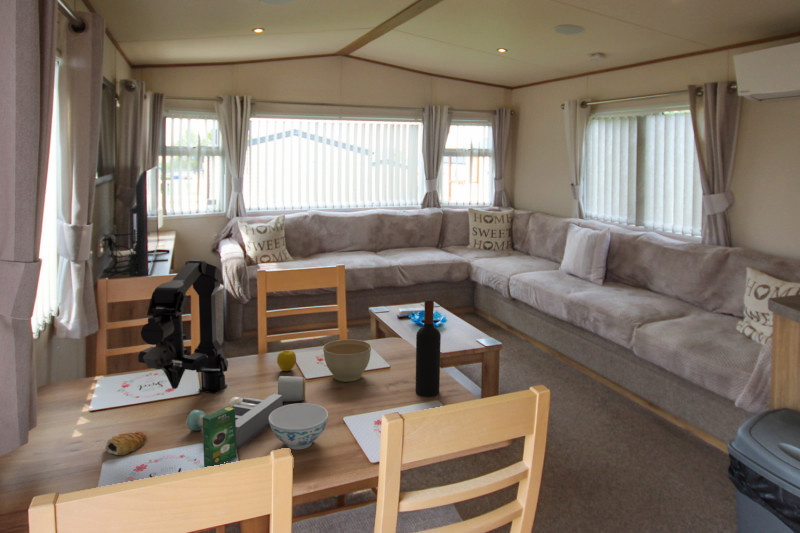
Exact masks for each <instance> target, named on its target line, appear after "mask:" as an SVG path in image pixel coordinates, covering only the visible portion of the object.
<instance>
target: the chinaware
mask: <svg viewBox="0 0 800 533" xmlns="http://www.w3.org/2000/svg"><path fill="white" fill-rule="evenodd" d="M328 417H329V412H328V410H327V409H326V408H325V407H323V406H321V405H319V404H314V403H307V402H301V403H298V402H297V403H291V404H286V405H282V407H280V408H277V409H276V410H274V411H273V412H272V413H271V414H270V415H269V423H270V426H269V427H270V429H271V431H272V432H273V434H274V436H275V437H276V438H277V439H278V440H279V441H280V442H282V443H283V444H285V445H286V447H287V448H289V449H291V450H303V449H308V448H309V447H310V446H312V444H313V442H314V441H315V440H318V438H319V437H320V436H321V435H322V433H323V432H324V430H325V428H326V425H327V423H328Z"/></svg>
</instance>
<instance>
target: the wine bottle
mask: <svg viewBox="0 0 800 533" xmlns="http://www.w3.org/2000/svg"><path fill="white" fill-rule="evenodd" d="M423 303H424V319H423V320H424V321H423V325H422V326H421V327H420V328H418V329H417V332H416V337H415V339H416V340H415V343H416V346H415V391H414V392H415V394H416V395H417V396H419V397H424V398H433V397H437V396H439V394H440V386H441V385H440V384H441V383H440V376H441V339H442V338H441V337H442V336H441V332H440V330H439V329H438V328H437V327H435V325H434V306H435V302H434V300H433V299H430V298H429V299H427V298H426V299H425V300H424V302H423Z"/></svg>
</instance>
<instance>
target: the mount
mask: <svg viewBox="0 0 800 533" xmlns="http://www.w3.org/2000/svg"><path fill="white" fill-rule="evenodd" d="M243 402H245V403H251V404H257V406H255V407H248V406H242V405H236V404H235V405H233V406H232V408H235V420H236V450H241V449H242V448H243V447H245V446H246V445H247V444H249V443H250V442H251V441H252V440H254V439H255V438H256V437H257V436H259V434H261V433H262V432H263V431H265V430H266V429H267V428H268V427H271V426H270V423H269V415H270V414H271V413H272V412H273V411H274V410H276V409H277V408H280V407H282V406H283V402H282V395H278V393H272V394H270V395H269V396H268V397H266V398H265V399H260V398H252V397H248V396H247V397H244V398H243Z"/></svg>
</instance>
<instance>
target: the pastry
mask: <svg viewBox="0 0 800 533" xmlns="http://www.w3.org/2000/svg"><path fill="white" fill-rule="evenodd" d="M146 442H147V435H146V434H145V433H144V432H142V431H134V432H132V431H131V432H125V433H119V434H118V435H115V436H112V437H111V439H110V438H109V439H108V440H107V442H106V445H105V450H106V451H107V452H108V454H113V455H115V456H123V455H128V454H129V453H131V452H134V451H135V450H136V451H137V449H139V448H140V447H142V446H143V445H144V444H145V443H146Z"/></svg>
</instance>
